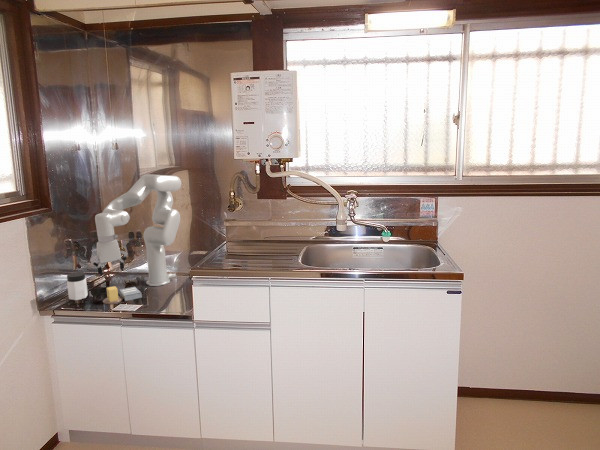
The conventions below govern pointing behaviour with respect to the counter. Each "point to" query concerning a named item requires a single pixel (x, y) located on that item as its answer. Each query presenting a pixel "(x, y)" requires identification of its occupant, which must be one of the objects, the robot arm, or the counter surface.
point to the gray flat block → (130, 293)
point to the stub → (112, 293)
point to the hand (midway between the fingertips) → (111, 272)
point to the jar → (77, 286)
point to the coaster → (113, 301)
